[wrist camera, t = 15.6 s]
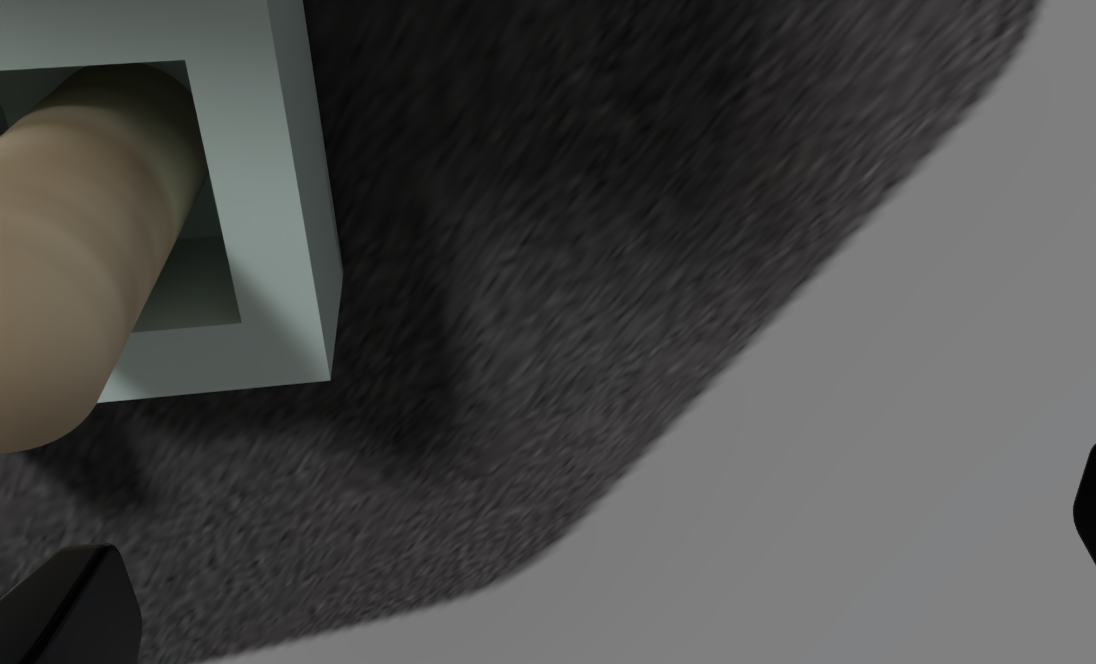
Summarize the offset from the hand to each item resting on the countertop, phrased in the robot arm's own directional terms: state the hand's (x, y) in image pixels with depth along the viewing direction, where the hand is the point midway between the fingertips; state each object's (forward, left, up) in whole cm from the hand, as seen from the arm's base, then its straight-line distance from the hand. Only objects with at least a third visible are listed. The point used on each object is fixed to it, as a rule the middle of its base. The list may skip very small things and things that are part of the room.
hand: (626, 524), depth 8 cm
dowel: (-7, 0, -12) cm, 14 cm away
